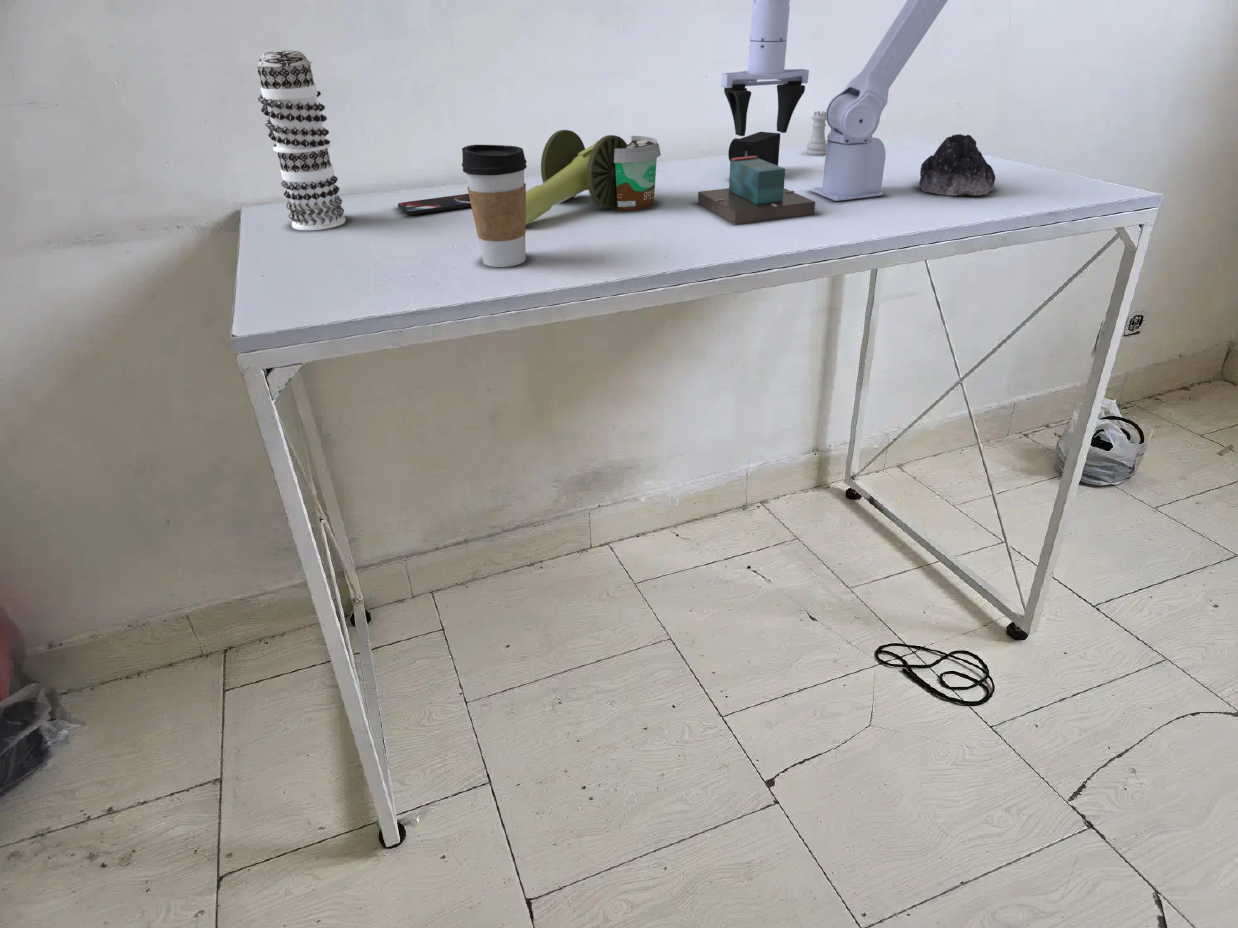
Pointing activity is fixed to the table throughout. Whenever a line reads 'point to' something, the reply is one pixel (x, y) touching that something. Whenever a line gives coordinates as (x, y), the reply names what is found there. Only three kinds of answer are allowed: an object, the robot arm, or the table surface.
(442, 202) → the smartphone
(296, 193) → the white patterned cylinder
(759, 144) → the digital camera
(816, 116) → the white chess piece
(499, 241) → the coffee cup
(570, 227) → the table surface
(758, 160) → the teal block red stripe
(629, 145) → the food container
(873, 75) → the robot arm
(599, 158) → the cannon
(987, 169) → the crystal cluster
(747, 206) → the clock
